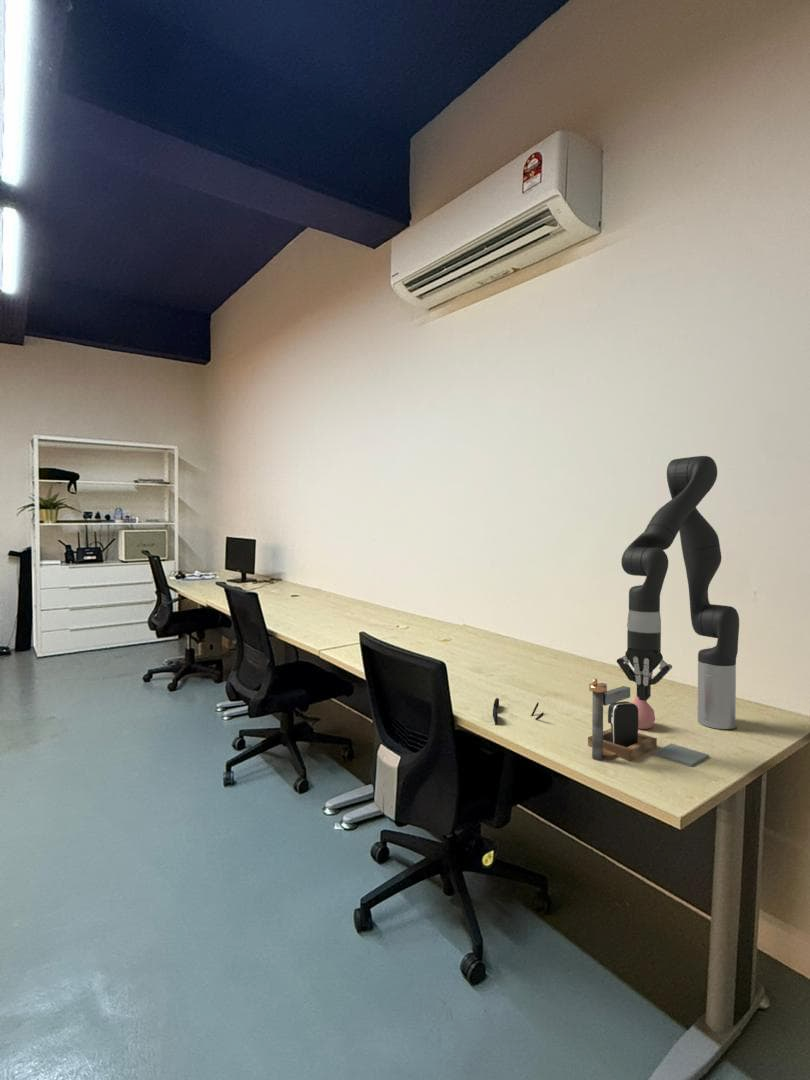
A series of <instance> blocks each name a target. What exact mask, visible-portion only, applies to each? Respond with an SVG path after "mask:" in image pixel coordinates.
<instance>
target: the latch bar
mask: <svg viewBox="0 0 810 1080" xmlns="http://www.w3.org/2000/svg"><path fill="white" fill-rule="evenodd" d="M588 691H589V692H592V693H593V692H598V693H603V706H605V707H606V706H609V705H610V704H612V703H615V702H622V701H624V700H626V699H630V698H631V687H630V686H624V685H622V686H619V687H616V688H612V689H609V690H608V685H607V683H603V682H601V683H600V682H598V678H593V679H592V683H589V684H588Z"/></svg>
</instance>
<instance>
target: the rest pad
mask: <svg viewBox="0 0 810 1080" xmlns="http://www.w3.org/2000/svg"><path fill="white" fill-rule="evenodd" d="M653 755H655V756H658V757H660V758H663V759H666V760H669V761H673V762H674V763H675V762H676V763H678V764H682V765H685V766H689V767H694V766H695V765H697V764H699V763H701V762H702V761H704V760H706V759H708V758H710V757H709V756H710V755H709V754H707V753H705V752H701V751H697V750H695V749H691V748H687V747H684V746H681V745H678V744H673V743H670V744H668V745H665V746H663V747H661V748H659V749H657V750H655V751H653Z"/></svg>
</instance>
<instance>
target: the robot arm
mask: <svg viewBox="0 0 810 1080" xmlns="http://www.w3.org/2000/svg"><path fill="white" fill-rule="evenodd" d="M717 477H718V466H717V464H716V461H715V460H714V459H713V457H711V456H707V455H696V456H690V457H680V458H675V459H674V458H673V459H672V460H670V461H669V463H668V465H667V467H666V480H667V486H668V490H669V494H670V497H671V500H669V501H668V502H666V503H665V504H664V505H663V506H661V507H660V508H659V509H658V510H657V511H656V512H655V513H654V514H653V516H651V519H650V520H649V522H648V524H647V526H646V528H645V529H644V532H642V533H640V535H638V536H637V537H636V538H635V539H634V540H633V541H632V542H631V543H630V544H629V545H628V546H627V547H626V548H625V550H624V551H623V554H622V556H621V562H620V563H621V568H622V569H623V571H624V573H626V574H628V575H629V576H630V575H631V576H635V577H636V576H637V577H645V579H644V582H643V584H639V585H633V586H631V587H630V588H629V591H628V613H627V622H626V627H627V632H626V633H627V636H626V637H627V640H626V643H627V644H626V645H627V648H626V651H625V655H623V656H622V657H619V658H618V659H616V663H617V664H618V666H619V667H620V669H621V670H622V672H623V673H624V674H625V676H626V677H627V679H628V680H629V681H630V682H634V683H635V685H636V695H637V697H639V700H643V701H647V702H648V700H649V699H650V698H651V695H652V693H651V692H652V691H651V690H652V689H651V687H652V685H656V684H658V683H659V682H660V681H661V680H662V679H664V677H665V676H666V675H667V674H668V673H669V672H670V671H671V670H672V669H673V665H672V664H671V663H670V664H669V663H668V662H666V661H665V660H664V659H663V658H664V657H663V655H662V648H661V646H662V643H661V642H662V619H661V592H662V589H663V585H664V582H665V578H666V575H667V572H668V568H669V557H668V555H667V553H666V552H665V550H667V549H669V548H670V547H671V546H672V544H673V543H674V541H675V538H676V537H677V535H678V533H679V537H680V538H679V539H680V544H681V545H680V546H681V553H682V558H683V562H684V567H685V573H686V578H687V579H686V580H687V585H688V594H689V611H690V620H691V627H692V629H693V632H695V634H697V635H698V636H702V637H706V638H713V639H714V638H715V639H717V640H716V645H714V646H712V647H709V648H704V649H700V650H699V651H697V652H698V653H697V723H698V724H700V725H703V726H705V727H708V728H712V729H719V730H731V729H735V728H736V710H737V709H736V703H737V700H736V699H737V696H736V694H737V693H736V692H737V690H736V689H737V657H738V656H737V655H738V652H739V634H740V617H739V615H740V614H739V613H738V610H737V609H736V608H735V607H734V606H731V605H730V606H729V605H721V604H714V603H713V604H712V603H710V601H709V586H710V584H711V582H712V581H713V578H714V577H715V575H716V573H717V572H718V569H719V568H720V565H721V563H722V552H721V545H720V540H719V539H720V538H719V535H718V533H717V532H716V530H715V528H714V527H713V526H712V525H711V524H710V522H708V520H707V519H706V518H705V517H704V515H702V513H700V511H699V510H698V508H697V506H698V505H699V504H700V503H701V502H702V500H703V499H704V497H706V495H708V493H709V492H710V490H711V489H712V488H713V486H714V485H715V484H716V481H717ZM630 665H631V666H632V667H631V666H630ZM658 666H659V667H658ZM656 668H658V669H659V671H658V673H656V674H655V676H654V677H653V674H654V670H656Z"/></svg>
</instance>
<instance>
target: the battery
mask: <svg viewBox="0 0 810 1080" xmlns="http://www.w3.org/2000/svg"><path fill="white" fill-rule="evenodd" d="M607 723H608V724H610V729H611V732H612V739H611V740H610V742H612V743H615V744H618V745H621V746H624V747H629V746H631V745H633V744H635V743H638V733H639V729H638V707H637V706H636V705H635V704H633V703H631V702H629V701H618V702H615V703H612V704H609V705H608V709H607Z"/></svg>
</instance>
